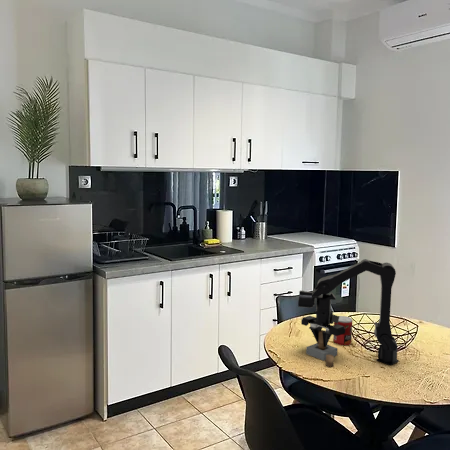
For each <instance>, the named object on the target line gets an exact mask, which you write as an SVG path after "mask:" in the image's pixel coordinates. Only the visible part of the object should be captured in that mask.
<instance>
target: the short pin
mask: <svg viewBox="0 0 450 450" xmlns="http://www.w3.org/2000/svg"><path fill="white" fill-rule="evenodd" d="M334 362H335V356H333V355H326V360H325V367H326V368H334Z"/></svg>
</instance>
